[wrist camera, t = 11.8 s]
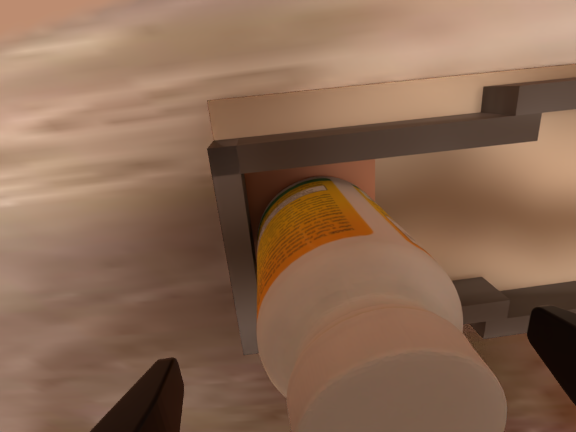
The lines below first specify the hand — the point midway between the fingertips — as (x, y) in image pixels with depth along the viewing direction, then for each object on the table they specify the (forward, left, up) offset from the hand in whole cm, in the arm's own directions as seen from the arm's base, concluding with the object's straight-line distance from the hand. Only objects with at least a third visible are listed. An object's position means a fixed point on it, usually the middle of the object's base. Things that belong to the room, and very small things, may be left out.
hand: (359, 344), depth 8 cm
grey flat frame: (0, -7, -8) cm, 11 cm away
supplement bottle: (0, 0, -7) cm, 7 cm away
